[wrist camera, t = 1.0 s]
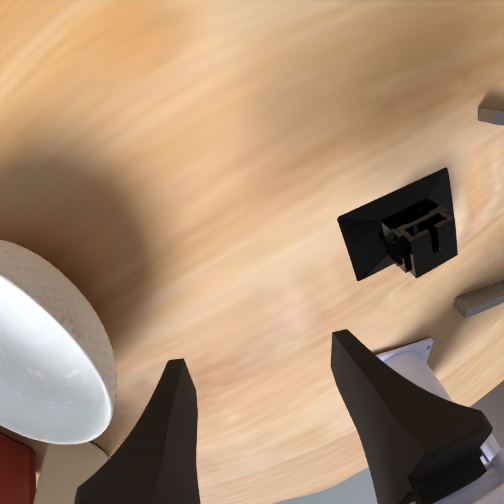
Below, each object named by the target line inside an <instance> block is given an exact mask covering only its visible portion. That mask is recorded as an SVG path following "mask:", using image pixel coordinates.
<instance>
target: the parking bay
mask: <svg viewBox="0 0 504 504" xmlns="http://www.w3.org/2000/svg"><path fill="white" fill-rule="evenodd" d="M478 120H479V121H484V122H488V123H492V124H496V125H504V111H499V110H492V109H485V108H478ZM502 303H504V281H502V282H499V283H496V284H494V285H491V286H488V287H485V288H483V289H480V290H477V291H474V292H471V293H468V294H465V295H462V296H459V297H456V299H455V303H454V307H455V308H456V309H457V310H458V311H459V312H460V313H461V314H462V315H463V317H464V318H467V317H470V316H472V315H475V314H477V313H480V312H482V311H485V310H487V309H490V308H492V307H494V306H497V305H499V304H502Z"/></svg>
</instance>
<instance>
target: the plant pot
mask: <svg viewBox="0 0 504 504" xmlns="http://www.w3.org/2000/svg"><path fill="white" fill-rule="evenodd" d="M35 494H36V473H35V455H34V452H33V451H32V450H31V449H30V448H28V447H26V446H24V445H22V444H20V443H18V442H16V441H14V440H12V439H10V438H8V437H6V436H4V435H2V434H0V504H33V503H34V498H35Z"/></svg>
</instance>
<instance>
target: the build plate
mask: <svg viewBox="0 0 504 504" xmlns="http://www.w3.org/2000/svg"><path fill="white" fill-rule="evenodd" d="M337 221H338V223H339V226H340V229H341V232H342V235H343V238H344V241H345V244H346V247H347V250H348V253H349V256H350V259H351V262H352V266H353V269H354V272H355V275H356V278H357V281H360V280H363V279H365V278H367V277H369V276H371V275H373V274H375V273H377V272H379V271H381V270H383V269H384V268H386V267H388V266H390V265H392V264H394V263H395V264H396V266H399V267H400V268H401V269H402V270H403V271H404V272H405V273H407V272H409V271H410V272H411V273H412V274H413V275H414V276H415V278H418V277H420V276H422V275H424V274H425V273H427V272H429V271H431V270H432V269H434V268H436V267H438V266H439V265H441V264H443V263H445V262H446V261H448V260H450V259H451V258H453V257H455V256H457V255H458V252H457V238H456V226H455V218H454V211H453V202H452V194H451V187H450V180H449V174H448V169H447V168H443V169H441V170H439V171H437V172H435V173H433V174H430V175H428V176H426V177H424V178H422V179H420V180H417V181H415V182H413V183H411V184H409V185H407V186H404V187H402V188H400V189H398V190H396V191H394V192H391V193H389V194H387V195H385V196H383V197H380V198H378V199H376V200H374V201H372V202H370V203H367V204H365V205H363V206H361V207H359V208H356V209H354V210H352V211H350V212H348V213H346V214H343V215H341V216H339V217H338V218H337Z"/></svg>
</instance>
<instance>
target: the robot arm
mask: <svg viewBox="0 0 504 504" xmlns="http://www.w3.org/2000/svg"><path fill="white" fill-rule="evenodd" d="M432 345H433V340H432V338H428V339H425V340H422V341H419V342H416V343H413V344H410V345H407V346H404V347H400V348H397V349H394V350H391V351H387V352H384V353H381V354H377V355H375V354H374V353H372V352H371V351H370V350H369V349H368V348H367V347H366V346H365V345H363V344H362V343H361V342H360V341H359V340H358V339H357V338H356V337H355V336H354V335H353V334H352V333H351V332H350V331H349V330H347V329H345V330H341V331H336V332H332V351H331V369H332V372H333V375H334V379H335V382H336V385H337V387H338V390H339V392H340V394H341V396H342V398H343V401H344V403H345V405H346V407H347V409H348V411H349V413H350V416H351V418H352V420H353V422H354V424H355V426H356V429H357V431H358V434H359V436H360V439H361V442H362V445H363V449H364V452H365V455H366V458H367V462H368V465H369V469H370V472H371V476H372V480H373V484H374V488H375V492H376V497H377V502H378V504H504V448H503V449H500V447H499V445H498V444H497V442H496V440H495V439H494V437H493V435H492V434H491V432H492V429H493V428H492V426H491V424H490V423H489V421H488V419H487V418H486V416H485V415H484V414H483V413H482V411H480V410H477V409H473V408H469V407H466V406H462V405H459V404H457V403H454V402H452V400H451V398H450V397H449V395H448V394H447V392H446V391H445V389H444V388H443V386H442V385H441V383H440V382H439V380H438V379H437V377H436V376H435V374H434V373H433V371H432V370H431V368H430V367H429V365H428V364H427V360H428V357H429V354H430V351H431V348H432ZM197 418H198V409H197V396H196V389H195V386H194V384H193V381H192V379H191V376H190V374H189V371H188V368H187V366H186V363H185V361H184V358H183V359H175V360H169V361H168V362H167V364H166V367H165V369H164V371H163V374H162V376H161V378H160V380H159V383H158V385H157V387H156V389H155V391H154V393H153V395H152V397H151V399H150V401H149V403H148V405H147V406H146V408H145V410H144V412H143V413H142V415H141V417H140V419H139V420H138V422H137V423H136V425H135V426H134V428H133V429H132V431H131V432H130V434H129V435H128V437H127V438H126V439H125V441H124V442H123V443H122V444H121V446H120V447H119V448H118V449H117V451H116V452H115V453H114V454H113V455H112V456H111V457H110V458H109V459H108V461H107V462H106V463H105V464H104V465H103V466H102V467H101V468H100V469H99V470H98V471H97V472H96V473H94V474H93V475H92V476H91V477H90V478H89V479H87V480H86V481H85V482H84V483H83V484H81V485H80V486H79V487H77V491H76V495H75V500H74V504H200V496H199V488H198V479H197V469H196V445H197Z"/></svg>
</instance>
